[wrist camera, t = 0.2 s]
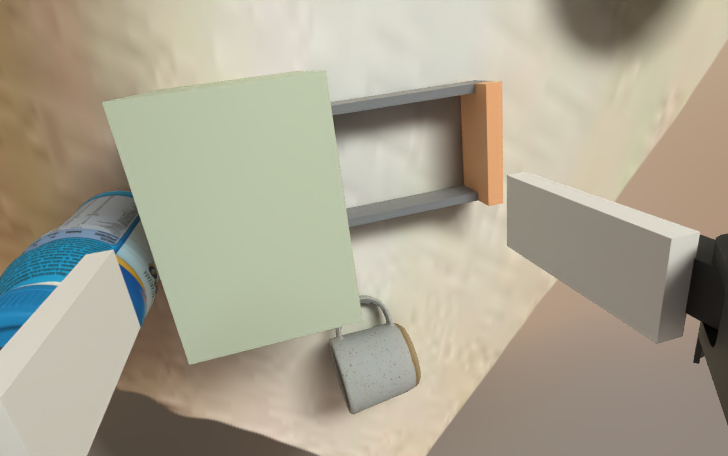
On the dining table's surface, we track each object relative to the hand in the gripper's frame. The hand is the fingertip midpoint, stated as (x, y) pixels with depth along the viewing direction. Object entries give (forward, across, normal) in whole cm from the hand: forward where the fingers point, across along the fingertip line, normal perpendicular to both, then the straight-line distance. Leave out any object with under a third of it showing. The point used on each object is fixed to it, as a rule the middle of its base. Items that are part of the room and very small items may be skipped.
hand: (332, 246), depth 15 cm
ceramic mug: (+28, +5, -23) cm, 37 cm away
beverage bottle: (+28, -15, -6) cm, 32 cm away
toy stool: (+28, -3, -3) cm, 28 cm away
